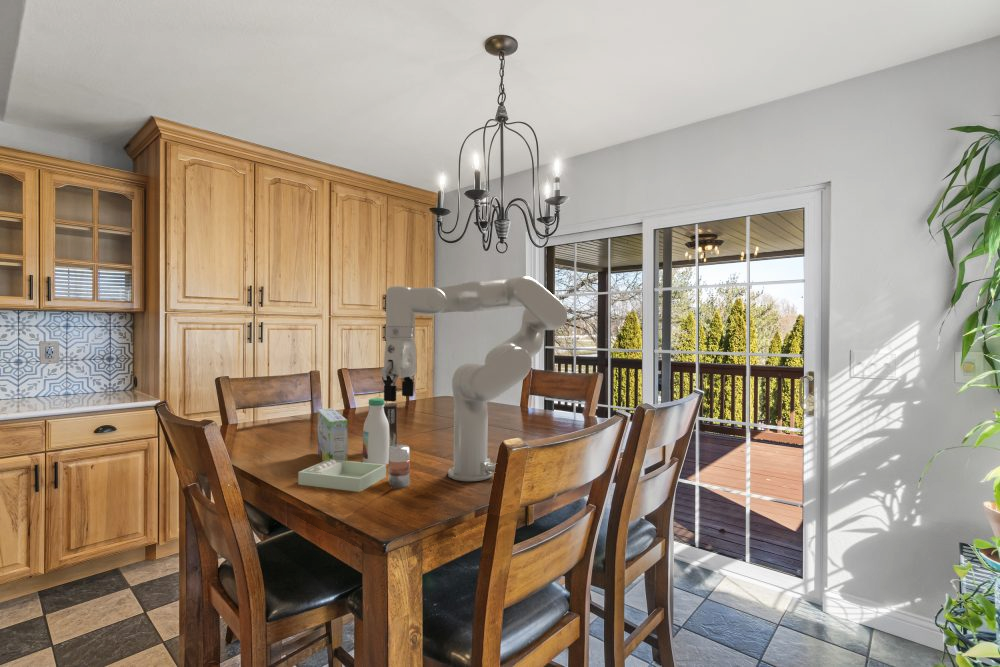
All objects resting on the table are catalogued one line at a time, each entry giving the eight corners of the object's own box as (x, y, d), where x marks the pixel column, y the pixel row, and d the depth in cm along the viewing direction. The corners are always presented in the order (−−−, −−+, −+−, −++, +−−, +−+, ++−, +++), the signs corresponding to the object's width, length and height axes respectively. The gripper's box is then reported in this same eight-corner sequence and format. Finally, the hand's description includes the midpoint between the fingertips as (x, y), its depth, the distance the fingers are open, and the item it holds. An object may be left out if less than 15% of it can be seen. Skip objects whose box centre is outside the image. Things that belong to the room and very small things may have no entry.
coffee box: (397, 450, 166) (397, 402, 166) (397, 455, 160) (397, 406, 159) (369, 451, 164) (369, 403, 164) (367, 456, 158) (368, 406, 158)
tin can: (413, 482, 132) (413, 445, 132) (403, 489, 127) (403, 450, 127) (394, 480, 134) (395, 444, 134) (384, 487, 129) (384, 448, 128)
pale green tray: (385, 479, 135) (386, 464, 135) (359, 494, 122) (359, 478, 122) (329, 473, 140) (329, 459, 140) (298, 487, 127) (298, 471, 127)
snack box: (316, 455, 158) (316, 409, 158) (334, 453, 161) (334, 407, 160) (328, 473, 140) (329, 420, 139) (349, 471, 142) (349, 419, 142)
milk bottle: (392, 462, 152) (393, 397, 151) (384, 469, 144) (384, 401, 144) (368, 461, 152) (368, 396, 152) (358, 468, 145) (359, 400, 144)
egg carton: (341, 474, 136) (341, 459, 136) (321, 484, 128) (321, 467, 128) (329, 472, 138) (329, 457, 137) (308, 482, 129) (308, 466, 129)
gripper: (397, 334, 120) (396, 404, 121) (427, 333, 137) (426, 395, 137) (370, 333, 122) (369, 402, 123) (402, 333, 139) (401, 393, 139)
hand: (399, 398), depth 130 cm, fingers open, 9 cm apart
